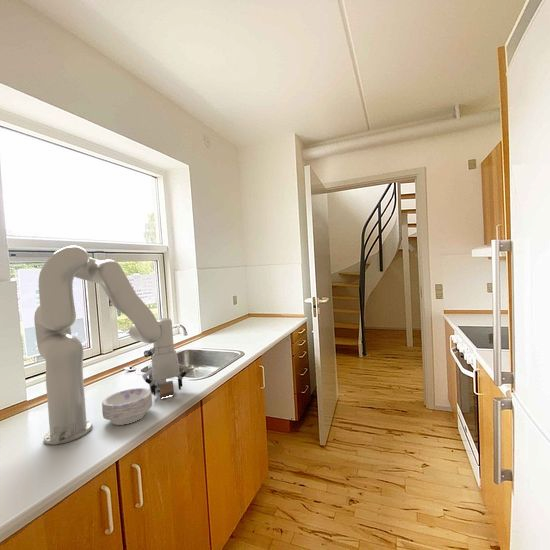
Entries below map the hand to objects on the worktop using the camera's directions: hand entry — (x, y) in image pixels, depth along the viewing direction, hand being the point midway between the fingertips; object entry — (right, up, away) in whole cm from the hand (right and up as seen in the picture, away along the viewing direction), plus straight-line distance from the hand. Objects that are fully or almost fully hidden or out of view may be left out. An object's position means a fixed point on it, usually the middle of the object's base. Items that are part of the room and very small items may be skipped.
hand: (167, 391), depth 117 cm
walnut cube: (0, -2, 0) cm, 2 cm away
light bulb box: (-8, -2, +10) cm, 12 cm away
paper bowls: (-7, -3, -17) cm, 19 cm away
